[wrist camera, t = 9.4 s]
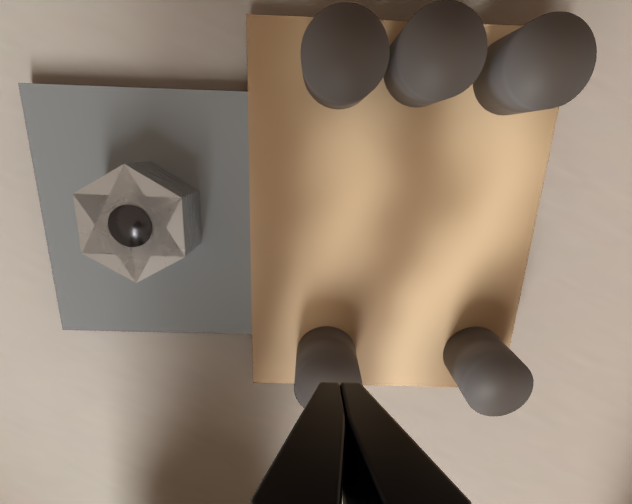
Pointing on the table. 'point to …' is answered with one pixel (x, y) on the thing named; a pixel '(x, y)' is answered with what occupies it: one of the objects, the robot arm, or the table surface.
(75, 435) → the table surface
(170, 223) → the hexagonal star candle holder
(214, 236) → the mat
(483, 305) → the board
